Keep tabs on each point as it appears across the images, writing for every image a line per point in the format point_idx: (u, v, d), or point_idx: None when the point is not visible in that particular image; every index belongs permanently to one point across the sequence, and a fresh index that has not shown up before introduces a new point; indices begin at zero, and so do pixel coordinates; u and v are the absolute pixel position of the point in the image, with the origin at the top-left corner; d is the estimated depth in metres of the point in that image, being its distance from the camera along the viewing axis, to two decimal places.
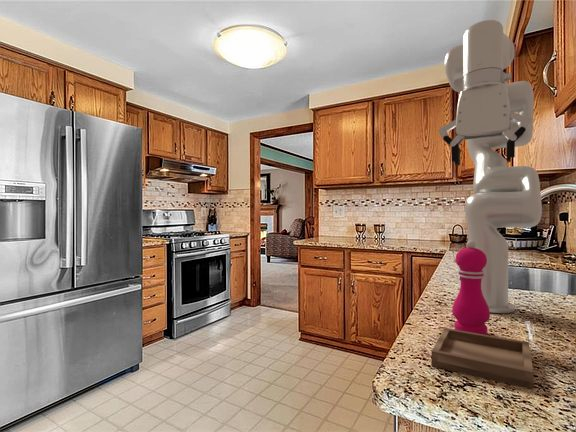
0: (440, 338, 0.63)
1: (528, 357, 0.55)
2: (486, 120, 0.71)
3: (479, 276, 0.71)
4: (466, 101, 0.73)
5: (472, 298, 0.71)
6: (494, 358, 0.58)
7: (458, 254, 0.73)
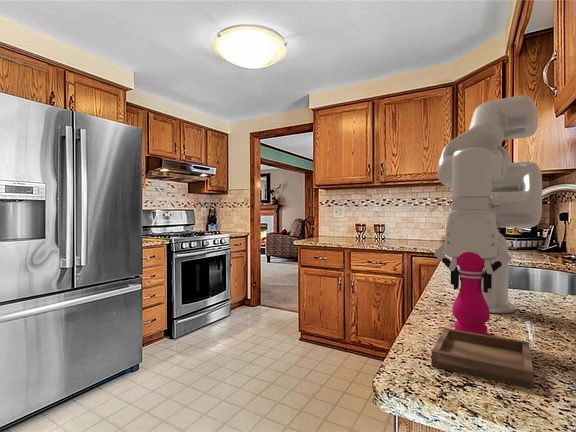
0: (440, 338, 0.63)
1: (528, 357, 0.55)
2: (474, 246, 0.71)
3: (479, 276, 0.71)
4: (455, 224, 0.73)
5: (472, 298, 0.71)
6: (494, 358, 0.58)
7: None
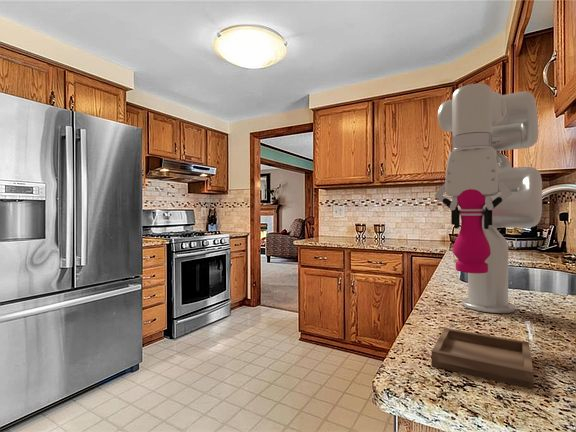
0: (440, 338, 0.63)
1: (528, 357, 0.55)
2: (475, 183, 0.71)
3: (480, 213, 0.71)
4: (455, 162, 0.73)
5: (472, 235, 0.72)
6: (494, 358, 0.58)
7: None
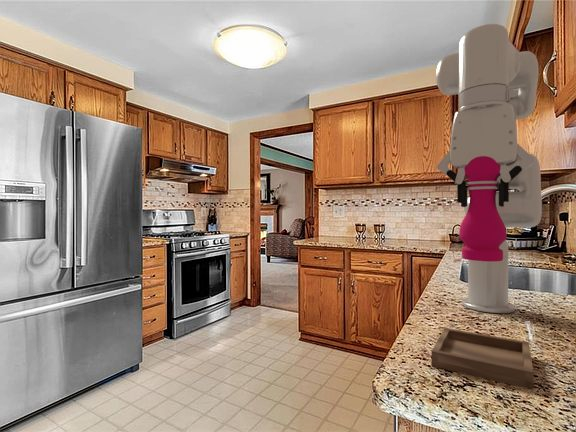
0: (440, 338, 0.63)
1: (528, 357, 0.55)
2: (487, 149, 0.57)
3: (493, 186, 0.57)
4: (462, 124, 0.59)
5: (484, 214, 0.57)
6: (494, 358, 0.58)
7: None
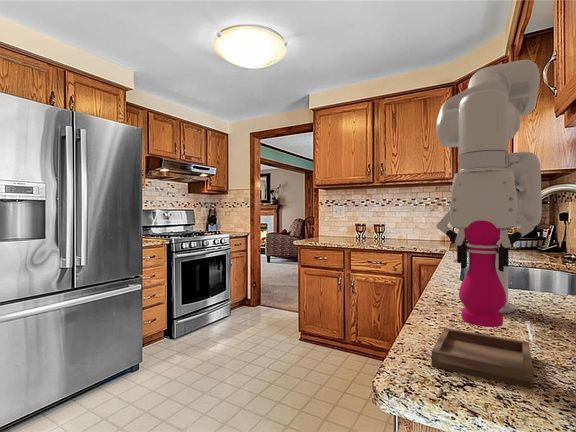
0: (440, 338, 0.63)
1: (528, 357, 0.55)
2: (487, 214, 0.57)
3: (493, 250, 0.57)
4: (462, 187, 0.59)
5: (484, 278, 0.57)
6: (494, 358, 0.58)
7: None
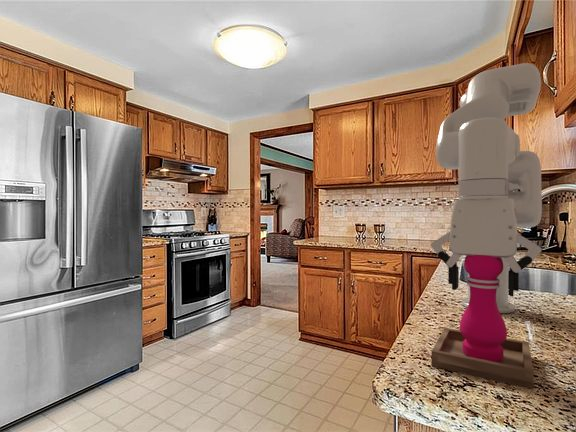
0: (440, 338, 0.63)
1: (528, 357, 0.55)
2: (487, 241, 0.57)
3: (494, 285, 0.57)
4: (462, 213, 0.59)
5: (485, 313, 0.57)
6: None
7: (467, 258, 0.59)
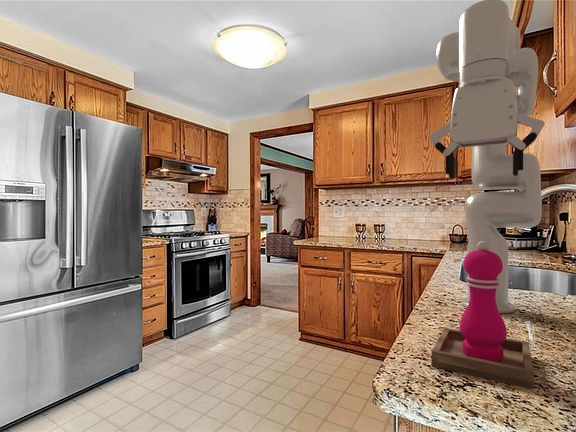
0: (440, 338, 0.63)
1: (528, 357, 0.55)
2: (487, 124, 0.57)
3: (493, 285, 0.57)
4: (463, 100, 0.59)
5: (484, 313, 0.57)
6: None
7: (467, 258, 0.59)
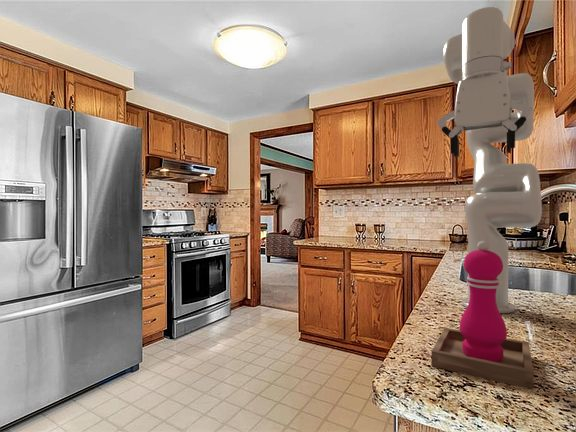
0: (440, 338, 0.63)
1: (528, 357, 0.55)
2: (486, 110, 0.69)
3: (494, 285, 0.57)
4: (465, 91, 0.71)
5: (485, 313, 0.57)
6: None
7: (467, 258, 0.59)
